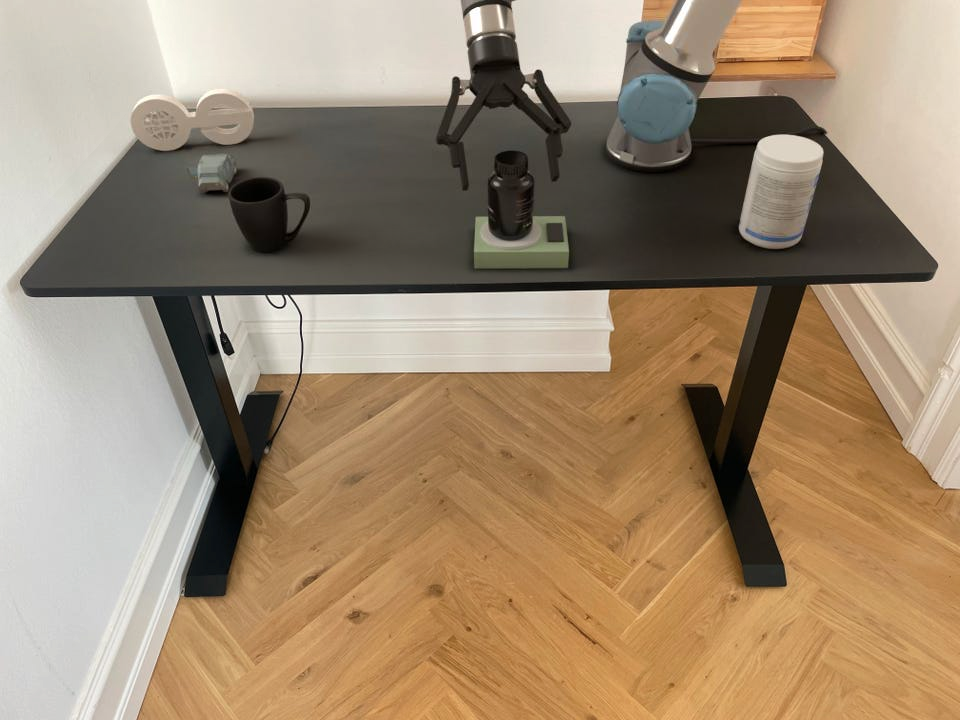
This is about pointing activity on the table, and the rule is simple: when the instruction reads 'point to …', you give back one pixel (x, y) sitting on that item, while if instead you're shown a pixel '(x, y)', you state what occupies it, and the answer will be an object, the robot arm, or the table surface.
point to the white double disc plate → (191, 119)
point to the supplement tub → (780, 190)
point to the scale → (523, 246)
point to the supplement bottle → (510, 196)
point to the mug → (264, 212)
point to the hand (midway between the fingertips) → (510, 183)
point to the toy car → (214, 172)
